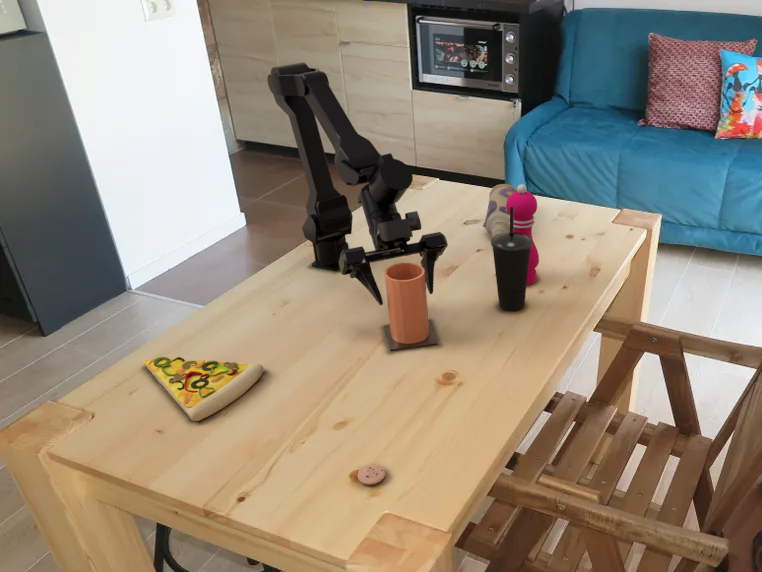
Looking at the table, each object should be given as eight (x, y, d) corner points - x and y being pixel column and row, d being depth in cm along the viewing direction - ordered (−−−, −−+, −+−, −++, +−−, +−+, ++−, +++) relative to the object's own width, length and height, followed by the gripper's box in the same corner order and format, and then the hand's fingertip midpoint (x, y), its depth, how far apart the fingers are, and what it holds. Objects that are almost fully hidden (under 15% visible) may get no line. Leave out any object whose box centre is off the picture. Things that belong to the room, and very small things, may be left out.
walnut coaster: (390, 351, 132) (390, 349, 131) (384, 327, 138) (384, 325, 138) (437, 344, 133) (437, 342, 133) (429, 321, 140) (429, 319, 140)
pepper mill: (497, 283, 152) (496, 188, 140) (511, 268, 157) (511, 175, 146) (531, 290, 150) (533, 194, 138) (543, 274, 155) (546, 180, 143)
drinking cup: (484, 309, 143) (482, 211, 132) (503, 292, 149) (502, 196, 137) (520, 319, 140) (521, 219, 129) (538, 301, 146) (540, 203, 134)
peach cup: (384, 339, 134) (377, 277, 127) (401, 321, 139) (395, 260, 132) (419, 346, 132) (413, 283, 125) (435, 327, 137) (431, 266, 130)
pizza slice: (203, 426, 115) (198, 410, 113) (108, 390, 122) (102, 375, 120) (272, 374, 126) (268, 359, 124) (181, 344, 133) (177, 330, 131)
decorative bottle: (489, 208, 183) (488, 182, 179) (520, 209, 183) (520, 183, 179) (478, 255, 162) (478, 226, 158) (513, 256, 162) (514, 228, 158)
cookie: (388, 467, 107) (387, 461, 106) (382, 486, 104) (382, 481, 103) (361, 466, 107) (360, 460, 107) (355, 485, 104) (354, 480, 103)
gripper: (333, 205, 122) (360, 295, 120) (441, 188, 128) (467, 273, 127) (328, 232, 132) (352, 315, 131) (428, 214, 139) (452, 293, 137)
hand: (406, 298), depth 131 cm, fingers open, 9 cm apart
